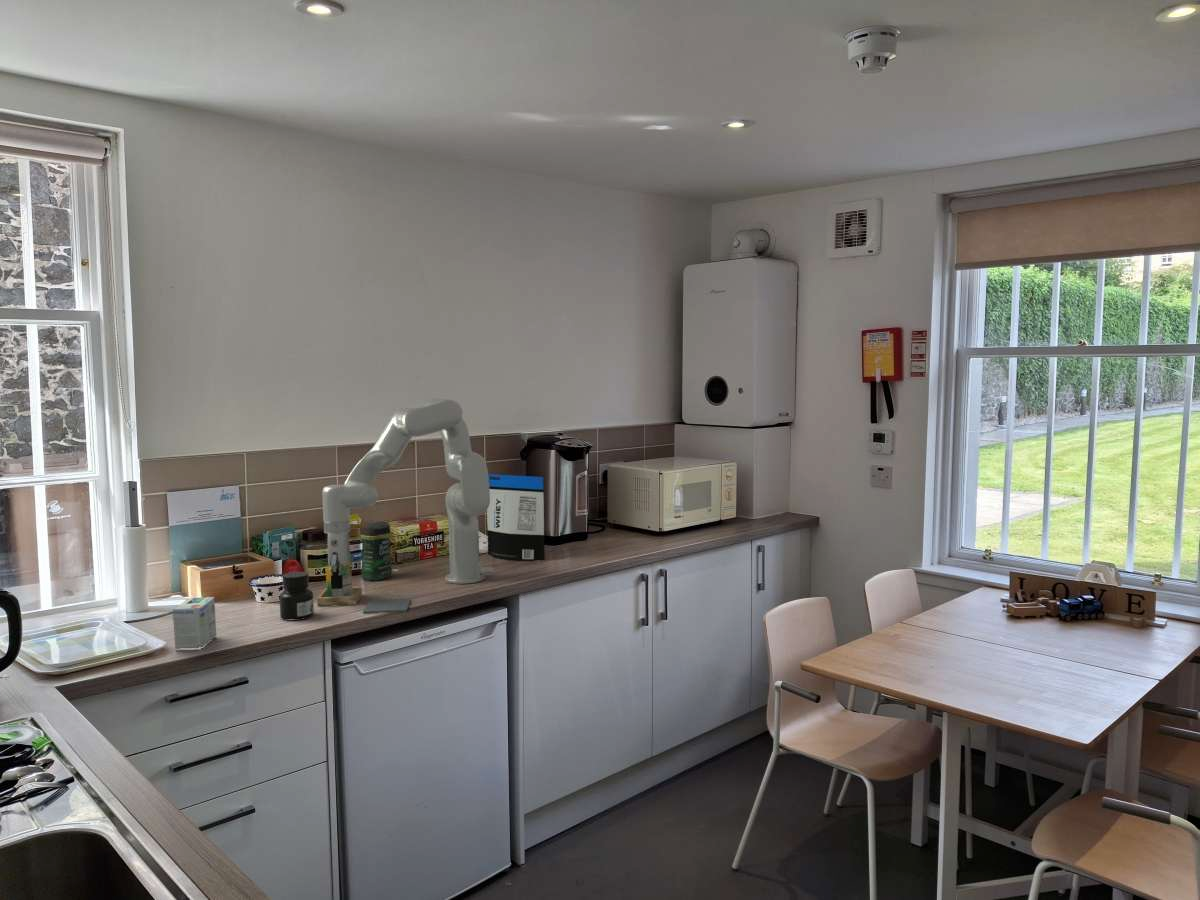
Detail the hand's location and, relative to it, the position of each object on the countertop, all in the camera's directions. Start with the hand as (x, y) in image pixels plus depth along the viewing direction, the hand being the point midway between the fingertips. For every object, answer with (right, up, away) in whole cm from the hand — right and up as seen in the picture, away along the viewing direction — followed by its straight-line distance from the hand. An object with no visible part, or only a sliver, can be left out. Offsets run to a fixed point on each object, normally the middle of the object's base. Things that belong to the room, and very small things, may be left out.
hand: (339, 584), depth 256 cm
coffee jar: (+4, -2, +28) cm, 28 cm away
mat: (+16, -5, -7) cm, 18 cm away
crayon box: (0, -4, 0) cm, 4 cm away
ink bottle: (-7, -7, -15) cm, 18 cm away
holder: (0, -5, 0) cm, 5 cm away
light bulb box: (-25, -9, -38) cm, 47 cm away
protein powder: (+47, +1, +56) cm, 73 cm away
